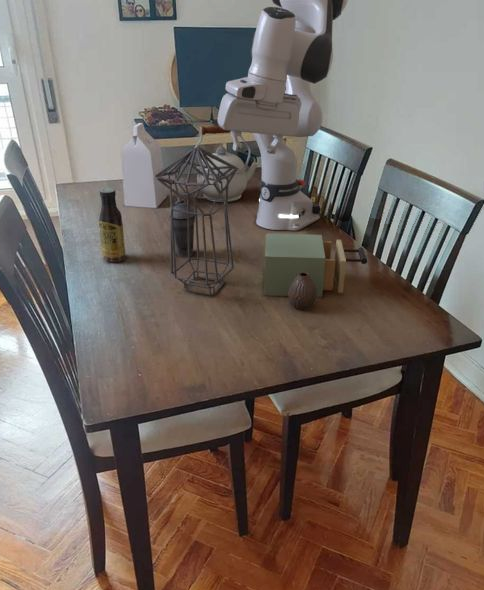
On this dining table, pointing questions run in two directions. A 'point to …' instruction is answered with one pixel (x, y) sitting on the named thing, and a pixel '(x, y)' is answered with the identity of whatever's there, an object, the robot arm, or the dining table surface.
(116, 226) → the sauce bottle
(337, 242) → the drawer
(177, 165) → the geometric lantern
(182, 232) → the beverage cup
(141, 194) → the milk
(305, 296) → the vase
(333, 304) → the dining table surface
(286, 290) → the cabinet
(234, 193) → the kettle
